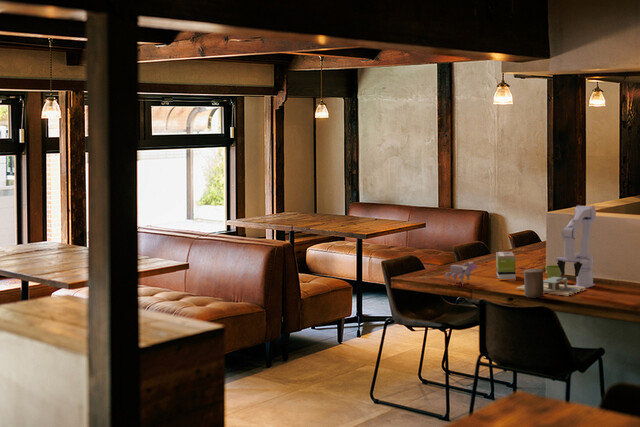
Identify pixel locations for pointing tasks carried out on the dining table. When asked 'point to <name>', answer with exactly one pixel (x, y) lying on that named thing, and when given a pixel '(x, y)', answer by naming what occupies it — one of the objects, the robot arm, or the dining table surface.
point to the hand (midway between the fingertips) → (569, 275)
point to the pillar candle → (533, 283)
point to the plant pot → (553, 271)
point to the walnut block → (555, 286)
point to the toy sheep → (461, 271)
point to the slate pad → (568, 289)
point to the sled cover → (555, 281)
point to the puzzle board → (558, 289)
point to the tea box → (505, 265)
